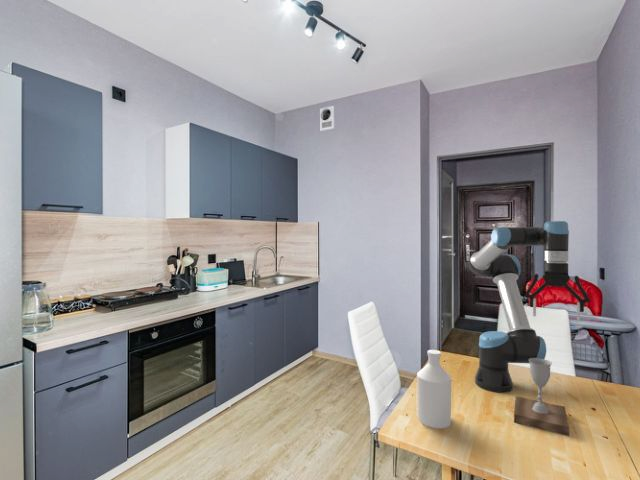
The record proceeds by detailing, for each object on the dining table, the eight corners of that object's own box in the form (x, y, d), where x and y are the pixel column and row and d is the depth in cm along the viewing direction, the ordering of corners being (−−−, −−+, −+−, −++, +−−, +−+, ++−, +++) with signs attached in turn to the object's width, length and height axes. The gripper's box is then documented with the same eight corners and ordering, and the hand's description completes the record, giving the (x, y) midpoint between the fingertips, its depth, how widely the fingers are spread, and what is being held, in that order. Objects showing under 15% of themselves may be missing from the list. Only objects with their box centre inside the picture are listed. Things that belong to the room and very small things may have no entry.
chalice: (548, 407, 126) (548, 359, 126) (554, 416, 119) (554, 365, 119) (526, 404, 128) (526, 357, 128) (531, 413, 122) (530, 363, 122)
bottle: (432, 432, 116) (431, 359, 115) (410, 415, 127) (410, 348, 126) (458, 424, 120) (458, 354, 120) (435, 408, 131) (435, 344, 131)
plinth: (514, 422, 121) (514, 414, 121) (515, 403, 135) (515, 396, 135) (569, 436, 113) (569, 427, 113) (564, 414, 126) (564, 406, 126)
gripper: (516, 261, 131) (516, 315, 132) (599, 264, 117) (599, 325, 117) (518, 260, 137) (518, 311, 138) (597, 262, 123) (597, 320, 123)
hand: (555, 318), depth 127 cm, fingers open, 13 cm apart
